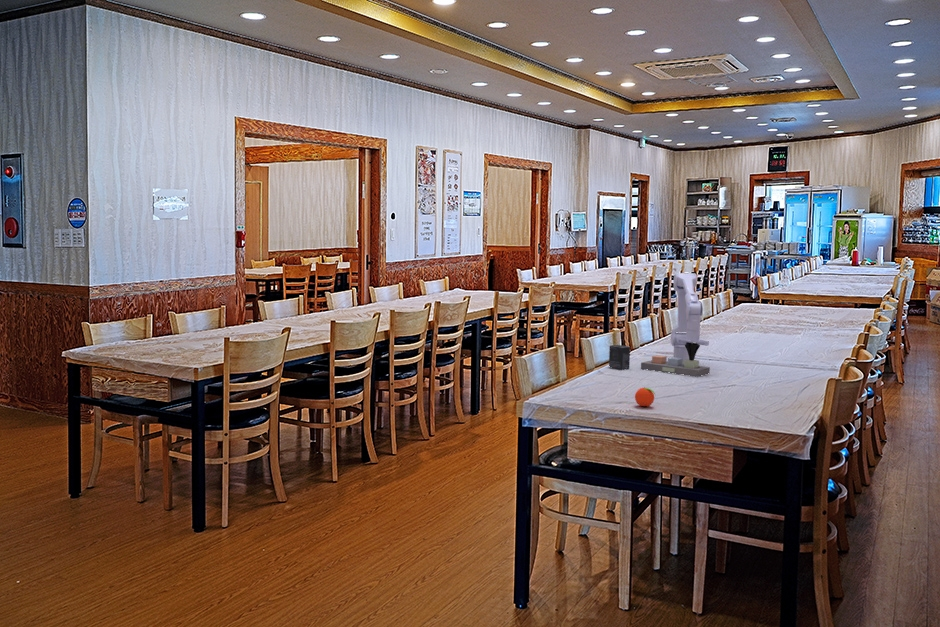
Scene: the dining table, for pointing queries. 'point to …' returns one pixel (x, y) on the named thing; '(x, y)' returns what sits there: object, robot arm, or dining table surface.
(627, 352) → the box
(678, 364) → the slate button
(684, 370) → the button panel
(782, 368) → the dining table surface
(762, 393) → the dining table surface
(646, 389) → the clementine
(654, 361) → the terracotta button
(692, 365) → the sage button
